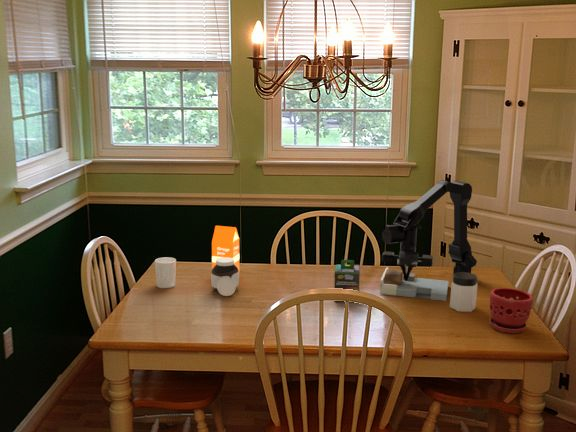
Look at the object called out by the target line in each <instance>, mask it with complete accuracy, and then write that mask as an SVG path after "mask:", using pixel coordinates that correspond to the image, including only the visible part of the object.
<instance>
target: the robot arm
mask: <svg viewBox="0 0 576 432" xmlns="http://www.w3.org/2000/svg"><path fill="white" fill-rule="evenodd" d="M447 193H449V197H450V200H451V202H452V203H453V225H454V226H453V240H452V242H451V243H448V255H449V257H450V258H451V259H450V260H451V262H452V263H455V264H454V265H453V271H452V275H453V274H454V273H457V272H468V273H472V268H473V267H476V266H477V263H478V261H477V259H476V258H475V257H474V256H473V253H472V247H471V244H470V243H469V240H468V204H469V202H470V201H471V199H472V194H473V187H472V185H471V184H470V183H469V182H465V181H464V182H463V181H460V180H453V181H452V182H451V181H447V180H444V179H440V180H438V181H437V182H436V184H435V185H434V186H433V187H432V188H430V189H429V190H428V191H426V193H424V194H423V195H422V196H421V197H420V198H419V199H417V200H416V201H414V202H410V203H408V204H406V205H404V206H403V207H401V208H400V210H399V212H398V215H397V216H396V218H395V219H394V220H393V222H392V224H391V225H390V224H386V226H385V229H383V231H382V233H381V236H382V237H381V239H382V241H383V242H384V244H385V245H391V244H392V245H393V244H397V243H400V244H399V245H400V247H399V248H400V249H399V252H398V254H395V252H394V251H386V250H385V251H383V253H382V255H381V262H382V263H386V264H387V263H388V264H390V263H391V262H392V261H397V263H396V266H399V267H400V268H401V271H403V276H404V278H405V281H407V280H408V277H409V275H410V273H411V272H412V270H413V269H414V268H416V267H417V266H418V263H421V266H423V267H433V264H434V256H433V255H430V254H422V257H421V256H419V252H418V251H416V250H417V248H416V247H417V234H418V233H417V232H418V231H417V230H419V229H422V228H423V227H422V226H421V224H420V223H419V222H420V221H421V220H422V219H423V218H424V216H425V213H426V211H427V210H428V209H429V208H430V207H432V206H433V205H434V204H435V203H436V202H438V201H439V200H440V199H441V198H442V197H443V196H445V194H447Z"/></svg>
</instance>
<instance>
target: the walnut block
mask: <svg viewBox="0 0 576 432" xmlns="http://www.w3.org/2000/svg"><path fill="white" fill-rule="evenodd" d="M402 276H404V275H403V271H402V269H401V270H400V269H399V270H398V269H390V268H388V269H387V270H386V273H385V284H392V285H399V286H401V283H402V280H403V279H402Z"/></svg>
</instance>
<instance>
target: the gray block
mask: <svg viewBox="0 0 576 432" xmlns="http://www.w3.org/2000/svg"><path fill="white" fill-rule="evenodd" d="M402 280H403V281H405V278H404V275H403V279H402ZM407 281H413V282H416V274H415V273H411V272H410V275H409V277H408V280H407Z"/></svg>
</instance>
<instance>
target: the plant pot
mask: <svg viewBox="0 0 576 432" xmlns="http://www.w3.org/2000/svg"><path fill="white" fill-rule="evenodd" d="M533 302H534V296H533V295H532V294H530V293H529V292H527V291H524V290H521V289H517V288H511V287H497V288H493V289H492V290H491V292H490V296H489V310H490V311H489V312H490V315H491V317H490V318H489V324H490V326H491V327H492V328H494V329H495V330H497V331H499V332H504V333H507V334H516V333H517V334H518V333H522V332H524V331H525V330H526V329H527V324H526V322H527V321H528V319H529V317H530V315H531V311H532V308H533Z"/></svg>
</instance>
